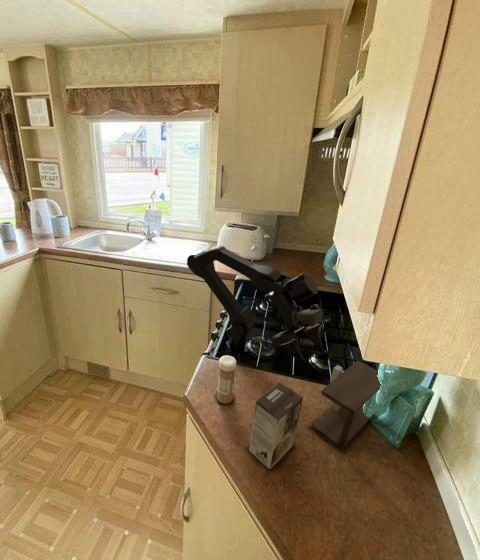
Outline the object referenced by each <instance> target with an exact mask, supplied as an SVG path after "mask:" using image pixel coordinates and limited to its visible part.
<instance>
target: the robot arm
mask: <svg viewBox="0 0 480 560" xmlns="http://www.w3.org/2000/svg"><path fill="white" fill-rule="evenodd" d="M215 261H216V262H219V263H220V264H222V265H224V266H226V267H228V268H230V269H231V270H232V271H235V272H237V273H238V274H240V275H243V276H244V277H245V278H248V279H249V281H250V282H251V284H252V285H253V286H255V287H256V288H257V289H258V290H260V291H261V292H262V293H265V295H264V298H263V300H264V302H265V301H266V302H267V301H268V300H271V301H272V303H273V306H274V308H275V309H276V311H277V313H278V315H276V318H277V320H280V319H281V321H282V323H283V324H284V326H285V327H284V328H283V331H280V332H279V333H277V334H275V335H273V336H271V340H270V341H271V343H272V345H273V347H274V348H275V347H277V348H278V349H280V348H281V349H282V350H283V351H285V352H287V353H288V354H289V355H290V356H292V357H293V358H294V359H295V360H297V361H298V362H299V363H300V364H301V365H302V364H306V361H305V357H304V356H303V353H302V351H301V349H300V347H299V345H298V344H299V338H298V337H297V338H296V335H297V334H299V333H301V332H302V331H303V333H304V334H305V336H307V338H308V339H309V341H310V342H311V343H312V344H313V345H314V347H315V348H316V349H317V350H318V352H322V351H324V348H323V342H322V336H321V329H322V327H323V326H324V323H323V322H326V320H325V318H324V316H323V315H324V311H323V309H322V308H321V306H320V305H319V304H313V305H311V306H310V308H307V309H304V308H303V306H302V305H297V303H296V302H302V301H304V300H306V299H309V298H310V297H313V296H316V294H318V292H319V289H318V285H317V283H316V282H315V280H314V279H312V277H311V276H309V275H307V274H306V273H305V272H301V273H300V274H299V275H297V276H296V277H294V278H292V277H290V276H288V275H286V274H283V273H281V272H280V271H279V270H278V269H277V268H274V267H271V266H268V265H264V264H257V263H255V262H252V261H251V260H249V259H247V258H244V257H243V256H241V255H239V254H237V253H235V252H234V251H232V250H229V249H228V248H226V247H225V246H224V245H218V246H215V247H213V248H211V249H209V250H204V249H201V250H198V251H196V252H194V253H192V254H190V255H189V256H188V257H187V259H186V266H187V267H188V269H189V270H190V271H191V272H192V273H193V274H194V275H195V276H197V277H198V278H201V279H202V280H204V282H205V283H206V285H207V286H208V287H209V289H210V291H211V292H212V293H213V294H214V296H215V298H217V300H218V302H219V303H220V304H221V305H222V307H223V308H224V309H225V312H226V313H227V314H228V321H229V324H230V326H229V327H228V328H227V329H226V330H225V334H226V337H227V338H229V340H226V341H225V344H226V347H227V350H228V351H229V353H230V354H232V355H233V354H245V353H249V349H248V347H247V337H248V335H249V334H250V332H251V331H253V329H254V328H255V327H256V325H257V322H258V320H257V317H256V315H257V314H256V313H255V312H253V310H252V307H250V305H247V306H246V307H245V306H243V305H242V304H240V303H239V301H238V300H237V298H236V297H235V295H233V293H232V291H230V289H229V287H228V286H227V285H226V283H225V282H224V280H223V279H222V278H221V276H220V275H219V274H218V272H217V271H216V267H215Z"/></svg>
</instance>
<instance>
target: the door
mask: <svg viewBox="0 0 480 560" xmlns="http://www.w3.org/2000/svg"><path fill="white" fill-rule="evenodd" d="M344 371H345V370H344V368H343V367H342V366H341V365H338V364H337V365H336V366H334V367H333V370H332V373H331V378H330V380H329V383H331V382H332V381H333V380H335V379H336V378H337V377H338V376H339V375H341V374H342V373H343V372H344ZM333 406H334V410H335V411H338V410H339V409H340V408H341V407H340V406H339V405H337V404H336V403H334V405H333Z"/></svg>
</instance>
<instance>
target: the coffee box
mask: <svg viewBox="0 0 480 560" xmlns="http://www.w3.org/2000/svg"><path fill="white" fill-rule="evenodd" d="M303 398H304V397H303V396H302V395H300V394H298V393H297V392H295V390H293V389H291V388H290V387H288V386H287V385H285V384H284V383H282V382H280V381H279V382H277V383H276V384H274V386H272V387H271V388H270V389H269V390H268V391H267V392H265V393H264V394H263V395H261V396H260V397H259V398H258V399H256V400H255V407H254V414H253V420H252V427H251V434H250V440H249V449H248V451H249V452H250V453H251V454H252V455H253V456H254V457H255V458H257V459H258V460H259V462H260V463H262V464H263V465H264V466H265V467H266V468H267V469H269V470H272V468H273V467H274V466H275V465H276V464H277V463H278V462H279V461H280V460H281V459H282V458H283V456H285V454H287V453H288V452H289V450H290V449H292V447H293V445H294V441H295V435H296V430H297V426H298V422H299V418H300V412H301V408H302V403H303V400H304V399H303Z"/></svg>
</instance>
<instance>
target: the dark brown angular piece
mask: <svg viewBox="0 0 480 560" xmlns="http://www.w3.org/2000/svg"><path fill="white" fill-rule="evenodd" d="M343 371H344V372H343V373H342V374H341V375H339V376H338V377H337V378H336V379H335V380H333V381H332V382H329V384H327V385H326V386H325V387H324V388H322V389H321V391H320V395H322V396H323V397H325V398H326V399H328V400H330V401H331V402H333V403H334V404H335V403H336V404H337V405H339V406H340V407H341V408H340V409H339V410H338V411H335V410H334V405H333V406H331V407H330V408H329V409H328V410H327V411H326V412H325V413H324V414H323V415H322V416H321V417H319V418H318V420H316V421H315V422H314V423H313V424H312V426H311V429H312V430H313V431H314V432H316V433H317V434H318V435H320V436H321V437H322V438H324V439H325V440H326V441H327V442H329V443H330V444H332V445H333V446H335V447H336V449H338V450H339V451H343V450H344V449H345V448H346V447H347V446H348V444H349V443H350V442H351V441H352V440H353V439H354V438H355V437H356V435H357V434H358V433H360V431H361V430H362V429H363V428H364V427H365V425H366V424H367V423H368V422H369V421H370V420H371V419H372V418H371V417H370V418H369V417H367V416H366V415H365V414H364V413H363V405H364V404H366V403H367V402H368V401H370V400H371V398H372V397H373V396H375V394H376V392H377V391H378V390H379V389H380V386H381V384H380V382H379V380H378V377H377V375H378V371H379V370H376V369H375V368H372V367H371V366H370V365H367V364H366V363H363V362H361V360H356V361H355V362H353V363H352V364H351V365H350V366H348V368H346V369H345V370H343Z"/></svg>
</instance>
